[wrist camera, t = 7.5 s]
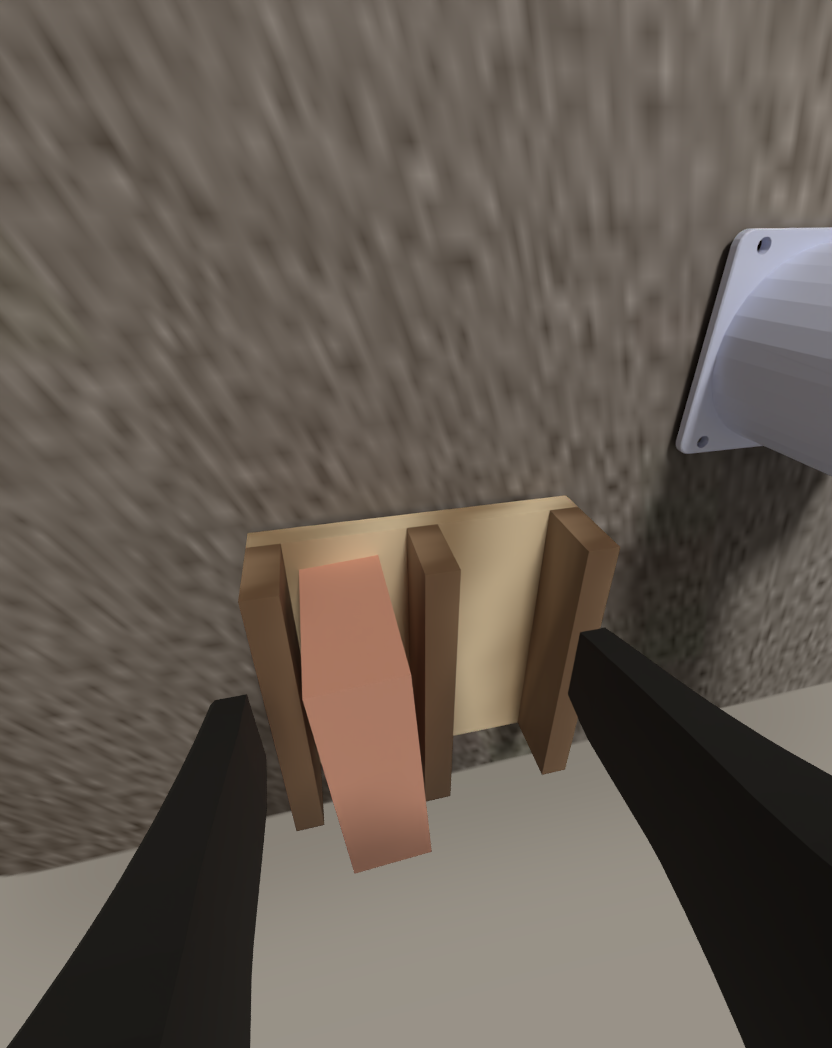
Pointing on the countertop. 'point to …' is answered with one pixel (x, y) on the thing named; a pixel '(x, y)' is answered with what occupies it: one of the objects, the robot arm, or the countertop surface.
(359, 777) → the book
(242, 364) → the countertop surface
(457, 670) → the book rack
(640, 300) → the countertop surface
